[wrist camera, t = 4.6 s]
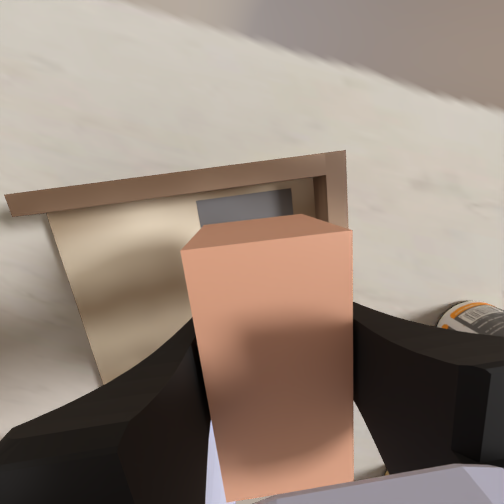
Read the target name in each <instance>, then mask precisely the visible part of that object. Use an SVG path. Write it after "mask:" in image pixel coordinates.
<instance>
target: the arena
mask: <svg viewBox="0 0 504 504" xmlns="http://www.w3.org/2000/svg"><path fill="white" fill-rule="evenodd" d="M4 196H5V198H6V201H7V204H8V206H9V209H10V212H11V215H12V217H15V216H24V215H33V214H42V213H46V214H47V217H48V220H49V223H50V226H51V229H52V232H53V235H54V238H55V241H56V244H57V247H58V250H59V253H60V256H61V259H62V262H63V265H64V268H65V271H66V274H67V277H68V280H69V283H70V286H71V289H72V292H73V295H74V298H75V301H76V304H77V307H78V310H79V313H80V316H81V319H82V322H83V325H84V328H85V331H86V334H87V337H88V340H89V343H90V346H91V349H92V352H93V355H94V358H95V361H96V364H97V367H98V370H99V373H100V376H101V379H102V382H103V385H105V384H107V383H108V382H110V381H111V380H113V379H115V378H116V377H118V376H120V375H121V374H123V373H125V372H126V371H128V370H129V369H131V368H132V367H134V366H135V365H137V364H138V363H140V362H141V361H142V360H144V359H145V358H147V357H148V356H149V355H151V354H152V353H153V352H155V351H156V350H157V349H158V348H159V347H160V346H162V345H163V344H164V343H165V342H166V341H167V340H169V339H170V338H171V337H172V336H173V335H174V334H175V333H176V332H177V331H178V330H179V329H181V328H182V327H183V326H184V325H185V324H186V323H187V322H188V321H189V320H190V319H191V318H192V312H191V306H190V301H189V296H188V290H187V285H186V279H185V274H184V268H183V263H182V257H181V252H180V250H181V249H182V248H183V247H184V246H185V245H186V244H187V243H188V242H189V241H190V240H191V238H192V237H193V236H194V235H195V234H196V233H197V232H198V231H199V230H200V229H201V228H202V227H203V225H208V224H217V223H226V222H234V221H243V220H252V219H261V218H269V217H278V216H287V215H296V214H304V215H307V216H310V217H313V218H316V219H319V220H322V221H325V222H328V223H332V224H335V225H338V226H341V227H344V228H347V229H348V203H347V173H346V150H343V151H335V152H328V153H320V154H312V155H305V156H297V157H290V158H282V159H274V160H267V161H259V162H251V163H244V164H236V165H228V166H221V167H213V168H205V169H198V170H190V171H182V172H175V173H167V174H159V175H152V176H144V177H137V178H129V179H121V180H114V181H106V182H98V183H91V184H83V185H75V186H68V187H60V188H52V189H45V190H37V191H29V192H22V193H14V194H6V195H4Z"/></svg>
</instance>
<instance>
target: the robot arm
mask: <svg viewBox="0 0 504 504" xmlns="http://www.w3.org/2000/svg"><path fill="white" fill-rule="evenodd" d="M353 400H354V402H355V404H356V405H357V407H358V409H359V411H360V413H361V415H362V417H363V419H364V421H365V423H366V425H367V427H368V429H369V431H370V433H371V436H372V438H373V440H374V442H375V444H376V446H377V448H378V451H379V453H380V455H381V457H382V459H383V462H384V464H385V466H386V468H387V470H388V473H389V475H386V476H380V477H375V478H369V479H363V480H357V481H352V482H346V483H340V484H335V485H329V486H323V487H317V488H312V489H306V490H300V491H294V492H289V493H283V494H277V495H274V496H271V497H269V498H266V499H263V500H261V501H258V502H255V503H253V504H504V337H501V336H493V335H484V334H476V333H469V332H462V331H455V330H450V329H444V328H439V327H434V326H429V325H424V324H420V323H416V322H412V321H408V320H404V319H401V318H397V317H394V316H391V315H388V314H385V313H382V312H379V311H376V310H373V309H370V308H368V307H365V306H362V305H360V304H357V303H355V302H353ZM0 504H236V501H234V502H227V503H226V497H225V492H224V486H223V481H222V476H221V470H220V465H219V459H218V454H217V448H216V443H215V437H214V432H213V426H212V421H211V416H210V410H209V405H208V399H207V394H206V388H205V383H204V377H203V372H202V366H201V361H200V356H199V350H198V345H197V339H196V334H195V328H194V323H193V317H192V318H191V319H190V320H189V321H188V322H187V323H186V324H185V325H184V326H183V327H182V328H181V329H179V330H178V331H177V332H176V333H175V334H174V335H173V336H172V337H171V338H170V339H169V340H167V341H166V342H165V343H164V344H163V345H162V346H160V347H159V348H158V349H157V350H156V351H155V352H153V353H152V354H151V355H149V356H148V357H147V358H145V359H144V360H142V361H141V362H140V363H138V364H137V365H135V366H134V367H132V368H131V369H129V370H128V371H126V372H125V373H123V374H121V375H120V376H118V377H116V378H115V379H113V380H111V381H110V382H108V383H107V384H105V385H103V386H101V387H99V388H98V389H96V390H94V391H92V392H90V393H88V394H86V395H84V396H82V397H80V398H78V399H76V400H74V401H72V402H70V403H68V404H66V405H64V406H62V407H60V408H58V409H55V410H53V411H51V412H48V413H46V414H44V415H42V416H39V417H37V418H35V419H33V420H30V421H28V422H26V423H23V424H21V425H18V426H16V427H14V428H12V429H11V430H10V431H9V432H8V433H7V434H6V435H5V436H4V438H3V439H2V440H1V441H0Z"/></svg>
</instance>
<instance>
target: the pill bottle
mask: <svg viewBox="0 0 504 504" xmlns="http://www.w3.org/2000/svg"><path fill="white" fill-rule="evenodd" d="M437 327H439V328H444V329H450V330H455V331H462V332H469V333H476V334H484V335H493V336H501V337H504V310H502V309H499V308H497V307H495V306H492V305H490V304H487V303H484V302H480V301H467V302H463V303H460V304H458V305H455V306H454V307H452V308H451V309H449V310H448V311H447V312H446V313H445V314H444V315H443V316H442V317H441V319H440V321H439V322H438V325H437Z"/></svg>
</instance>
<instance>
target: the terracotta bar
mask: <svg viewBox="0 0 504 504" xmlns="http://www.w3.org/2000/svg"><path fill="white" fill-rule="evenodd" d="M180 252H181V257H182V263H183V268H184V274H185V279H186V285H187V290H188V296H189V301H190V306H191V312H192V317H193V323H194V328H195V334H196V339H197V345H198V350H199V356H200V361H201V366H202V372H203V377H204V383H205V388H206V394H207V399H208V405H209V410H210V416H211V421H212V426H213V432H214V437H215V443H216V448H217V454H218V459H219V465H220V470H221V476H222V481H223V486H224V492H225V497H226V503H227V502H234V501H240V500H245V499H252V498H258V497H264V496H270V495H276V494H283V493H289V492H294V491H300V490H306V489H312V488H317V487H323V486H329V485H335V484H340V483H346V482H352V481H354V449H353V250H352V230H350V229H347V228H344V227H341V226H338V225H335V224H332V223H328V222H325V221H322V220H319V219H316V218H313V217H310V216H307V215H304V214H296V215H287V216H278V217H269V218H261V219H252V220H243V221H234V222H226V223H217V224H208V225H203V227H202V228H201V229H200V230H199V231H198V232H197V233H196V234H195V235H194V236H193V237H192V238H191V240H190V241H189V242H188V243H187V244H186V245H185V246H184V247H183V248H182V249H181V250H180Z"/></svg>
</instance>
